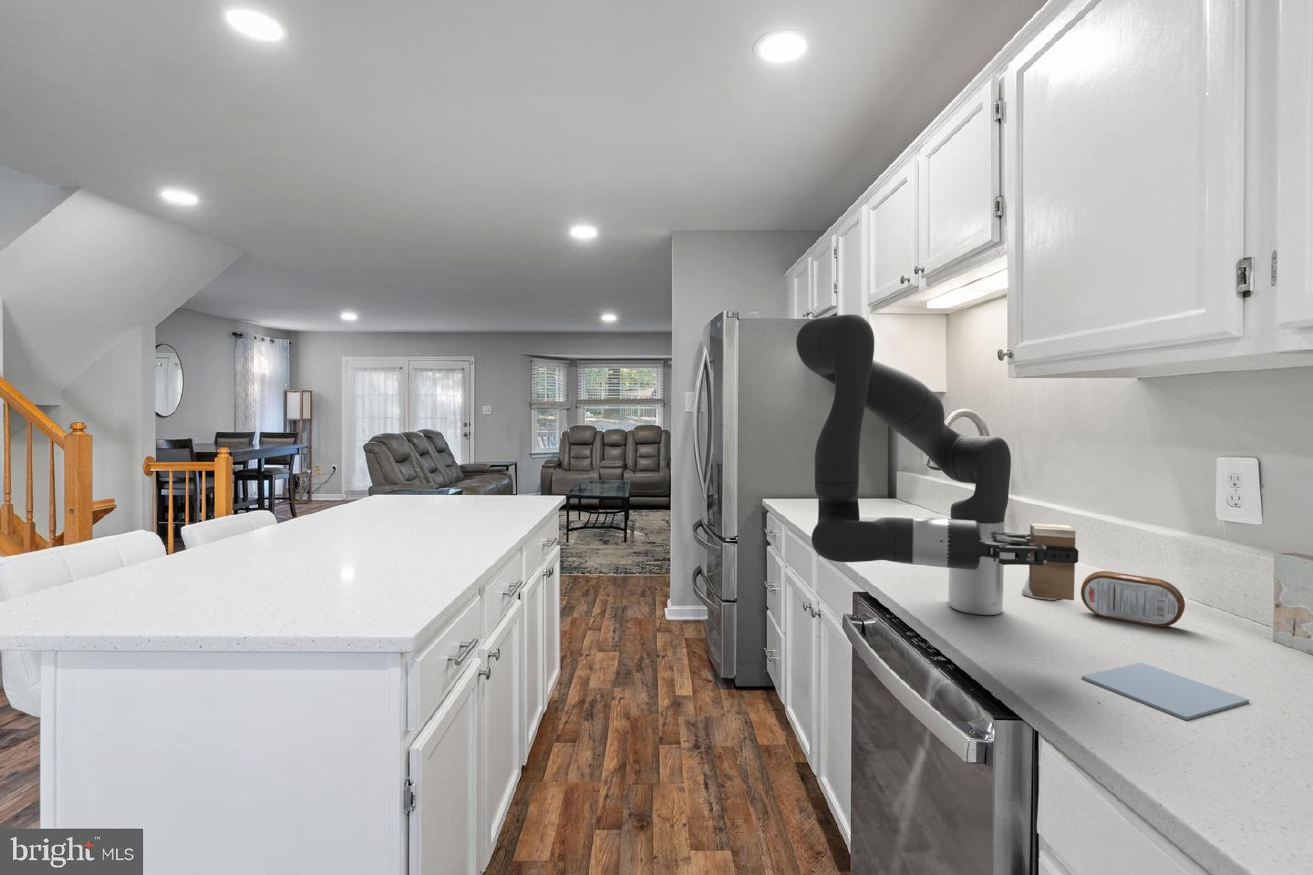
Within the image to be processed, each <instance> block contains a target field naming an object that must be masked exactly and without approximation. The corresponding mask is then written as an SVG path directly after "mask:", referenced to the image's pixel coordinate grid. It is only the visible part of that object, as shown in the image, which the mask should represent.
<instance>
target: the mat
mask: <svg viewBox="0 0 1313 875" xmlns="http://www.w3.org/2000/svg"><path fill="white" fill-rule="evenodd" d="M1081 680H1085V681H1086V682H1089V683H1090V684H1091V683H1092V684H1094V685H1096V686H1099V687H1101V688H1104V689H1107V690H1109V691H1112V692H1114V693H1116V694H1118V695H1119V694H1120V695H1121V696H1125V697H1127V698H1129V699H1132V700H1135V701H1137V702H1139V703H1142V704H1144V705H1146V706H1150V707H1152V708H1154V709H1157V710H1159V711H1162V712H1164V713H1167V714H1169V715H1172V714H1173V716H1174V715H1175V717H1177V718H1179V719H1182V720H1185V721H1189V720H1193V719H1196V718H1199V717H1203V716H1207V715H1210V714H1213V713H1217V712H1220V711H1225V710H1227V709H1230V708H1232V709H1233V708H1235V707H1238V706H1241V705H1245V704H1248V703H1249V704H1250V699H1248V698H1246V697H1243V696H1240V695H1238V694H1235V693H1231V692H1229V691H1225V690H1222V689H1220V688H1217V687H1215V686H1214V687H1213V686H1211V685H1208V684H1205V683H1202V682H1199V681H1198V680H1197V681H1196V680H1193V679H1190V678H1188V677H1185V676H1182V675H1179V674H1176V673H1174V672H1170V671H1167V670H1164V669H1162V668H1159V667H1155V666H1153V665H1150V664H1148V663H1147V664H1146V663H1144V662H1138V663H1135V664H1134V663H1133V664H1130V665H1126V666H1125V665H1124V666H1121V667H1116V668H1111V669H1107V670H1102V671H1099V672H1098V671H1097V672H1093V673H1089V674H1084V675H1081Z"/></svg>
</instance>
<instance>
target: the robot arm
mask: <svg viewBox="0 0 1313 875" xmlns="http://www.w3.org/2000/svg"><path fill="white" fill-rule="evenodd" d="M795 342H796V350H797V353H798V356H799V358H800V360H801V361H802V363H803V364H804V365H805V366H806V367H807V368H808V369H809V371H811V372H813V373H815V374H816V375H818V376H819V377H821V378H822V379H824V380H827V381H828V382H830V383H831V384H833V385H834V386H835V387H834V388H835V389H834V398H833V401H832V405H831V408H830V411H829V414H828V416H827V418H826V421H825V422H824V425H823V427H822V429H821V431H820V433H819V436H818V439H817V441H816V446H815V452H814V491H815V494H816V496H817V498H818V500H817V501H818V504H817V505H818V506H817V508H818V509H817V510H818V511H817V512H818V515H817V516H818V518H817V524H816V525H815V527H814V528H813V531H812V533H811V544H812V547H813V549H814V550H815V552H816V553H817V554H818V555H819V556H821V557H822V558H823V559H826V560H828V561H832V562H835V563H836V562H837V563H864V562H877V561H887V562H894V563H895V562H896V563H907V564H908V563H909V564H918V565H922V566H927V567H936V568H947V569H948V601H949V602H948V605H949V607H951V608H952V609H954V610H956V611H959V612H962V613H967V614H973V615H981V616H985V615H986V616H992V615H993V616H995V615H999V614H1002V613H1003V609H1004V607H1003V606H1004V604H1003V603H1004V602H1003V601H1004V600H1003V599H1004V566H1005V565H1013V566H1014V565H1015V566H1018V565H1019V566H1020V565H1022V566H1024V565H1025V566H1029V565H1038V566H1041V565H1044V563H1047V561H1048V562H1061V563H1074V564H1075V565H1076V564H1077V563H1078V562H1079V550H1078V548H1076V546H1075V547H1063V546H1048V545H1044V544H1033V543H1030V533H1029V534H1028V533H1027V534H1025V533H1024V534H1023V533H1015V532H1013V533H1012V532H1006V531H1005V515H1006V512H1007V508H1008V503H1009V494H1010V482H1011V480H1010V479H1011V472H1012V471H1011V468H1012V460H1011V459H1012V458H1011V457H1012V455H1011V450H1010V448H1009V446H1008V443H1007V442H1006V441H1005V440H1004V439H1003V438H1001V437H999V436H991V435H990V436H987V435H965V434H961V433H958V432H956V431H954V430H953V429H951V428H950V426H948V425H947V424H946V423H945V408H944V404H943V403H942V401H941V400H940V398H939V397H938V396H937V395H936V393H934V392H933V391H932V390H931V389H930V388H928V386H926V385H925V384H924V383H923V382H921V381H920V380H919V379H917V378H916V377H914V376H913V375H910V374H908V373H906V372H904V371H902V370H899V369H897V368H895V367H892V366H890V365H887V364H885V363H883V362H882V363H881V362H879V361H877V360H874V354H875V336H874V330H873V328H872V326H871V323H869V321H868V320H867V319H866V318H865V317H863V316H862V315H859V314H856V313H855V314H854V313H851V314H849V313H848V314H839V315H831V316H824V317H818V318H815V319H813V320H810V321H808V322H806V323H805V324H803V325H802V327H801V328H800V329H799V331H798V333H797V336H796V340H795ZM865 408H866V409H868V410H869V411H871V412H872V413H873V414H874V415H876V416H877V417H878V418H879V419H880V420H881V421H882V422H883V423H885V424H886V425H887V426H889V427H890V428H891V429H892V430H893V431H895V432H897V433H898V434H899V435H901V436H902V437H904V438H905V439H906V440H907V441H909V442H910V443H911V444H912V445H914V446H915V447H917V449H919V450H920V451H921V452H922V453H924V454H925V455H926V456H927V457H928V458H929V459H930V460H931V461H932V462H933V463H934V465H935V466H936V467H937V468H939V470H940V471H941V472H942V473H943V474H944V475H945V476H947V477H948V478H950V479H951V480H953V481H956V482H958V483H963V484H970V485H971V484H973V485H975V486H974V487H975V488H974V492H973V495H972V496H970V497H969V498H967V499H963V500H959V501H955V502H953V503H952V504H951V506H950V518H938V517H936V518H935V517H923V518H921V517H920V518H910V517H909V518H907V517H906V518H905V517H881V518H878V519H876V520H869V521H868V520H860V518H861V517H860V508H859V507H860V506H859V498H858V497H859V495H858V494H859V485H860V483H859V482H860V445H861V444H860V443H861V433H862V432H861V431H862V425H863V419H864V413H865ZM1030 551H1034V557H1031V556H1030Z"/></svg>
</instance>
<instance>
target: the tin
mask: <svg viewBox="0 0 1313 875" xmlns="http://www.w3.org/2000/svg"><path fill="white" fill-rule="evenodd" d="M1080 597H1081V600H1082V602H1083V604H1084V605H1085V607H1086V608H1087V609H1088V610H1089V611H1090V612H1092V613H1093V614H1095V615H1096V616H1098V617H1102V618H1106V619H1109V620H1116V621H1122V622H1126V623H1132V624H1137V625H1142V626H1149V627H1154V628H1166V627H1170V626H1173V625H1174V624H1176V623H1177V622H1178V621H1179V620H1180V619H1181V618H1182V617H1183V616H1182V615H1183V613H1184V612H1185V608H1186V603H1185V602H1186V601H1185V599H1184V596H1183V594H1182V593H1181V592H1180V590H1179V588H1178V587H1176V586H1175V585H1174V584H1172V583H1170V582H1168V581H1167V580H1164V579H1161V578H1155V577H1148V576H1143V575H1134V574H1128V573H1123V572H1114V571H1107V570H1102V571H1101V570H1099V571H1095V572H1092V573H1091V574H1089V575H1087V576H1086V578H1085V579H1084V580H1083V582H1082V585H1081V589H1080Z"/></svg>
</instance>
